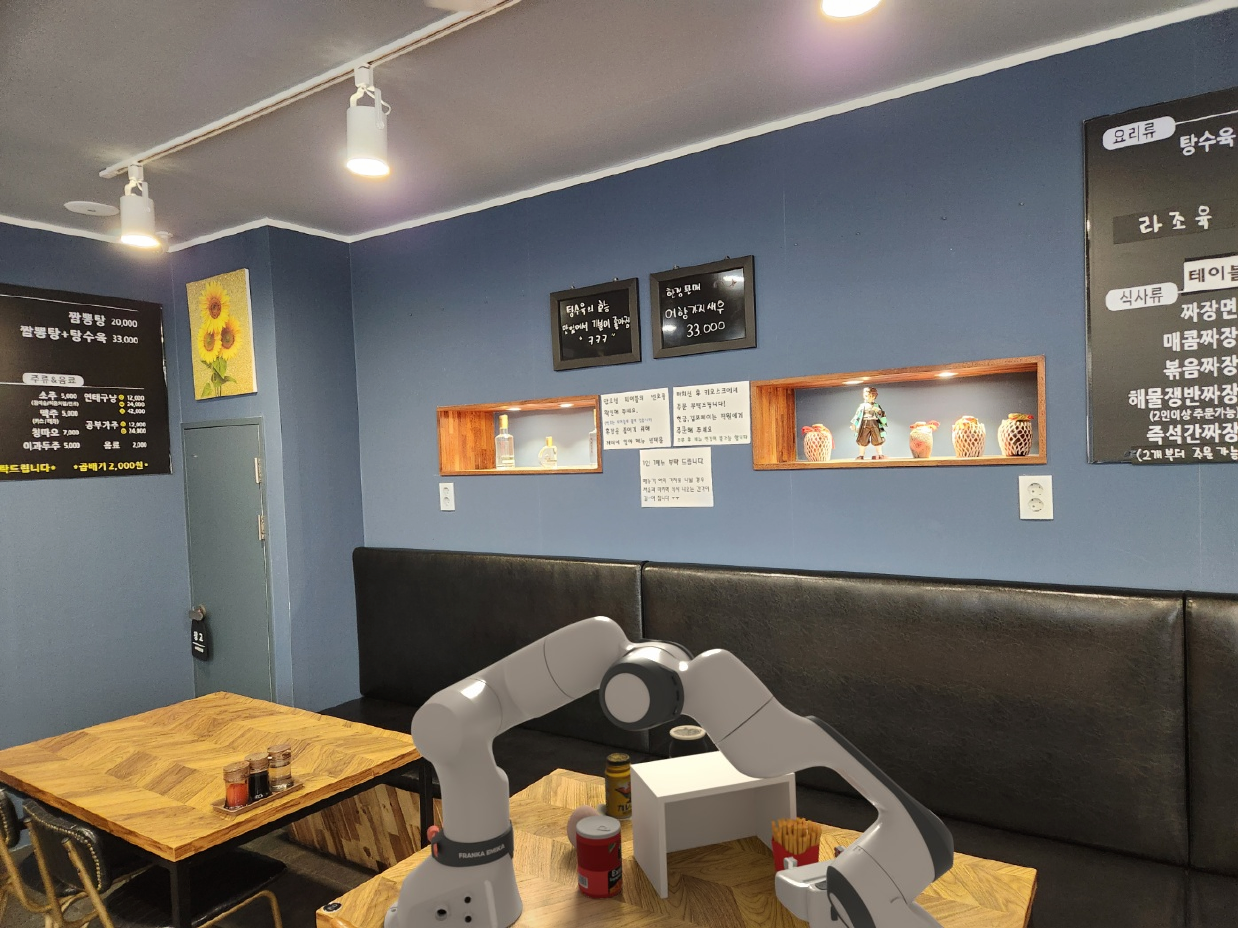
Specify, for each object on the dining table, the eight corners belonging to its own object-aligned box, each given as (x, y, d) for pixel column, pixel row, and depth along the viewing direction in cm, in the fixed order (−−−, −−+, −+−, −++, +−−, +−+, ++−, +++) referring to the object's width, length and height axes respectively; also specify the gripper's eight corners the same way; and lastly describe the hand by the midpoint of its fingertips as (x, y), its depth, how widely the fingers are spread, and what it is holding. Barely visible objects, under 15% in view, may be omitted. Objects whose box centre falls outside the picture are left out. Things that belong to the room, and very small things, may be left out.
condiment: (635, 820, 157) (633, 762, 157) (595, 820, 158) (593, 763, 158) (636, 804, 165) (634, 749, 165) (597, 805, 165) (595, 750, 165)
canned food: (618, 901, 128) (615, 836, 128) (572, 898, 129) (570, 833, 129) (626, 877, 135) (624, 816, 135) (583, 874, 137) (581, 813, 137)
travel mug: (711, 826, 153) (707, 737, 154) (671, 826, 154) (668, 738, 154) (708, 808, 161) (705, 724, 162) (671, 808, 162) (668, 725, 162)
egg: (612, 849, 145) (610, 805, 146) (583, 862, 141) (581, 818, 141) (588, 836, 151) (587, 794, 151) (560, 849, 146) (558, 806, 146)
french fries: (772, 895, 128) (770, 824, 128) (774, 882, 132) (772, 813, 132) (824, 901, 125) (821, 829, 125) (825, 888, 129) (822, 818, 129)
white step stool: (661, 898, 128) (657, 796, 128) (633, 855, 143) (630, 764, 143) (798, 868, 136) (794, 773, 136) (758, 831, 150) (755, 745, 150)
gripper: (922, 864, 113) (866, 825, 127) (802, 892, 107) (757, 848, 121) (924, 906, 113) (868, 862, 127) (805, 937, 107) (759, 888, 120)
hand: (813, 855), depth 124 cm, fingers open, 8 cm apart
